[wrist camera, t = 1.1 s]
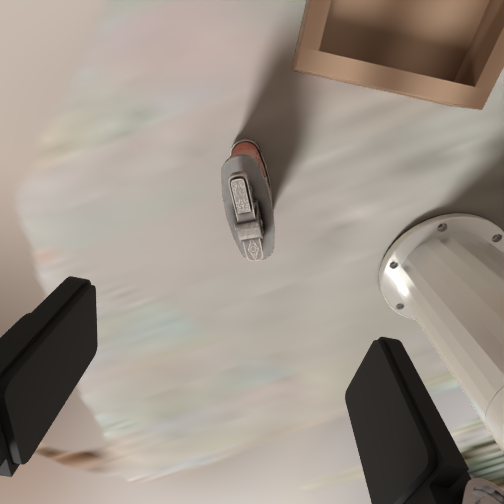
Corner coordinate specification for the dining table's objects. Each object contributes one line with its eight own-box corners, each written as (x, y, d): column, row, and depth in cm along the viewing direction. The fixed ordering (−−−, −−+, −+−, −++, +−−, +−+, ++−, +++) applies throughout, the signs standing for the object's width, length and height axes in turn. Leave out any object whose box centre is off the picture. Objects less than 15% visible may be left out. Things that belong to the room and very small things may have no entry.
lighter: (277, 219, 30) (283, 274, 22) (243, 225, 31) (236, 282, 22) (261, 134, 27) (262, 159, 18) (223, 142, 27) (205, 170, 18)
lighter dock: (517, -38, 21) (568, -63, 17) (451, 106, 25) (481, 109, 22) (325, -88, 20) (339, -125, 17) (291, 70, 24) (296, 67, 21)
